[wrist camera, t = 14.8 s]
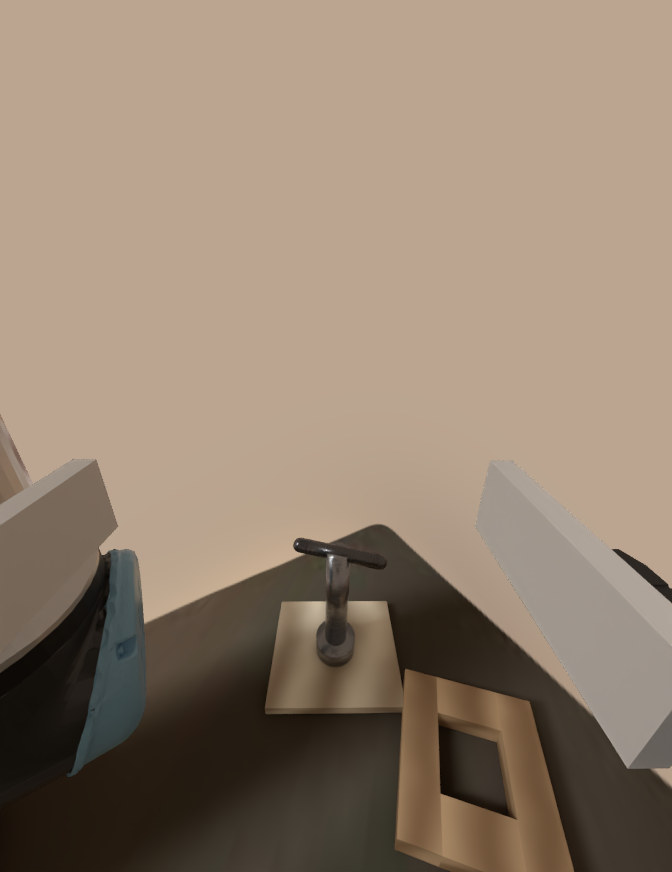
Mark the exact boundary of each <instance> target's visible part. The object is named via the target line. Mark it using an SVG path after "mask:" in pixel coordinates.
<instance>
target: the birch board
mask: <svg viewBox="0 0 672 872" xmlns="http://www.w3.org/2000/svg"><path fill="white" fill-rule="evenodd" d="M325 611H326V602H282V605H281V611H280V617H279V624H278V630H277V636H276V642H275V648H274V654H273V661H272V667H271V673H270V679H269V685H268V691H267V698H266V704H265V714H329V713H402V709H403V688H402V682H401V677H400V671H399V666H398V660H397V655H396V649H395V644H394V638H393V633H392V627H391V622H390V616H389V611H388V606H387V601H348V614H347V622H348V623H349V624H350V625H351V626H352V628H353V630H354V633H355V644H354V653H353V656H352V658H351V660H350V661H349V662H348V663H347V664H345V665H343V666H340V667H331V666H328V665H326V664H324V663H323V662H322V661H321V660H320V658H319V657H318V655H317V651H316V633H317V630H318V628H319V626H320V625H321V623H322V622H324V621H325Z"/></svg>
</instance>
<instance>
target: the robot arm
mask: <svg viewBox="0 0 672 872" xmlns="http://www.w3.org/2000/svg"><path fill="white" fill-rule="evenodd" d="M117 527H118V525H117V522H116V519H115V516H114V513H113V509H112V506H111V503H110V500H109V497H108V494H107V491H106V488H105V485H104V482H103V479H102V476H101V473H100V470H99V467H98V463H97V460H96V459H72V460H71V461H69V462H68V463H66V464H64V465H63V466H61V467H60V468H58V469H57V470H55V471H53V472H52V473H50V474H48V475H47V476H45V477H44V478H42V479H40V480H39V481H37V482H36V483H34V484H33V483H32V481H31V479H30V477H29V474H28V472H27V470H26V468H25V466H24V464H23V462H22V460H21V458H20V455H19V453H18V451H17V449H16V447H15V445H14V443H13V441H12V438H11V436H10V434H9V432H8V430H7V428H6V426H5V424H4V422H3V419H2V417H1V415H0V809H2V808H4V807H6V806H8V805H10V804H12V803H14V802H16V801H17V800H19V799H21V798H23V797H25V796H27V795H29V794H31V793H32V792H34V791H36V790H38V789H40V788H42V787H44V786H46V785H47V784H49V783H51V782H53V781H55V780H57V779H59V778H61V777H62V776H64V775H66V776H67V777H71V776H73V775H75V774H77V773H78V772H79V771H80V770H81V769H82V767H83V766H84V765H85V764H87V763H89V762H90V761H92V760H94V759H95V758H97V757H99V756H100V755H102V754H104V753H105V752H107V751H109V750H111V749H112V748H114V747H116V746H117V745H119V744H121V743H122V742H124V741H125V740H126V739H127V738H128V737H129V736H130V735H131V734H132V733H133V732H134V731H135V729H136V728H137V726H138V725H139V723H140V721H141V719H142V716H143V714H144V709H145V703H146V655H145V633H144V618H143V603H142V591H141V580H140V571H139V564H138V559H137V556H136V554H135V552H134V551H132V550H129V549H124V550H116V549H113V550H111V551H108V553H107V554H105V555H101V552H100V550H99V546H100V545H101V544H102V543H103V542H104V541H105V540H106V539H107V538H108V537H109V536H110V535H111V534H112V532H113V531H114V530H115V529H116V528H117ZM475 527H476V529H477V530H478V532H479V533H480V535H481V537H482V538H483V540H484V541H485V543H486V544H487V546H488V548H489V549H490V551H491V553H492V554H493V555H494V557H495V559H496V560H497V562H498V563H499V565H500V567H501V568H502V570H503V572H504V573H505V575H506V576H507V578H508V580H509V581H510V583H511V584H512V586H513V587H514V589H515V591H516V592H517V594H518V595H519V597H520V598H521V600H522V602H523V603H524V605H525V607H526V608H527V610H528V611H529V613H530V614H531V616H532V618H533V619H534V620H535V622H536V624H537V626H538V627H539V629H540V630H541V632H542V633H543V635H544V637H545V638H546V640H547V641H548V643H549V645H550V646H551V648H552V649H553V651H554V653H555V654H556V656H557V657H558V659H559V661H560V662H561V664H562V665H563V667H564V668H565V670H566V672H567V673H568V675H569V676H570V678H571V679H572V681H573V683H574V684H575V686H576V687H577V689H578V691H579V692H580V694H581V695H582V697H583V699H584V700H585V702H586V703H587V705H588V707H589V708H590V710H591V711H592V713H593V715H594V716H595V718H596V719H597V721H598V722H599V724H600V726H601V727H602V729H603V730H604V732H605V734H606V735H607V737H608V738H609V740H610V742H611V743H612V745H613V746H614V748H615V749H616V751H617V753H618V754H619V756H620V757H621V759H622V761H623V762H624V764H625V765H626V767H627V769H645V768H670V767H671V766H672V589H670V588H669V587H668V584H667V583H666V582H665V581H664V580H662V579H661V578H660V577H659V576H658V575H656V574H655V573H654V572H653V571H652V570H650V569H649V568H648V567H647V566H646V565H644V564H643V563H641V562H639V561H638V560H636V559H634V558H633V557H631V556H629V555H627V554H626V553H624V552H622V551H621V550H619V549H611V548H609V547H608V546H607V545H606V544H605V543H604V542H603V541H602V540H600V539H599V538H598V537H597V536H596V535H595V534H593V532H592V531H590V530H589V529H588V528H587V527H586V526H585V525H584V524H583V523H581V522H580V521H579V520H578V519H577V518H576V517H575V516H574V515H573V514H572V513H570V512H569V511H568V510H567V509H566V508H565V507H564V506H563V505H561V504H560V503H559V502H558V501H557V500H556V499H555V498H554V497H553V496H551V495H550V494H549V493H548V492H547V491H546V490H545V489H543V487H541V486H540V485H539V484H538V483H537V482H536V481H535V480H534V479H532V478H531V477H530V476H529V475H528V474H527V473H526V472H525V471H524V470H522V469H521V468H520V467H519V466H518V465H517V464H516V463H515V462H513V461H490V463H489V467H488V472H487V476H486V481H485V485H484V490H483V493H482V498H481V502H480V506H479V511H478V515H477V520H476V524H475Z"/></svg>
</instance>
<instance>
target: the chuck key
mask: <svg viewBox="0 0 672 872" xmlns="http://www.w3.org/2000/svg"><path fill="white" fill-rule="evenodd" d="M293 547H294V549H295V550H296V551H297V552H300V553H304V554H309V555H313V556H318V557H323V558H326V611H325V621H324V622H322V623H321V625H320V626H319V628H318V630H317V633H316V651H317V655H318V657H319V658H320V660H321V661H322V662H323V663H324V664H326V665H328V666H331V667H340V666H343V665H345V664H347V663H348V662H349V661H350V660H351V658H352V656H353V653H354V644H355V633H354V630H353V628H352V626H351V625H350V624H349V623H348V622H347V614H348V596H349V579H350V564H355V565H359V566H364V567H368V568H373V569H378V570H382V569H384V568H385V567H386V564H387V560H386V558H385V557H384V556H383V555H381V554H377V553H372V552H368V551H363V550H358V549H353V548H350V547H349V546H348V545H347V544H345V543H342V542H335V543H332V544H329V543H324V542H319V541H314V540H310V539H304V538H298V539H296V540H295V542H294V544H293Z"/></svg>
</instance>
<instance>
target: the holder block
mask: <svg viewBox="0 0 672 872" xmlns="http://www.w3.org/2000/svg"><path fill="white" fill-rule="evenodd" d="M438 725H440V726H443V727H446V728H450V729H453V730H457V731H460V732H463V733H467V734H470V735H473V736H477V737H480V738H484V739H487V740H490V741H494V742H497V748H498V754H499V760H500V766H501V772H502V778H503V784H504V790H505V796H506V802H507V808H508V815H509V817H507V816H504V815H501V814H499V813H496V812H493V811H490V810H487V809H484V808H481V807H478V806H475V805H472V804H469V803H466V802H463V801H461V800H458V799H455V798H452V797H449V796H446V795H443V794H440V765H439V736H438ZM395 850H397V851H399V852H402V853H405V854H407V855H410V856H412V857H415V858H417V859H420V860H422V861H425V862H428V863H430V864H433V865H435V866H438V867H440V868H443V869H446V870H448V871H451V872H574V869H573V865H572V862H571V858H570V854H569V850H568V846H567V843H566V839H565V835H564V831H563V827H562V824H561V820H560V816H559V812H558V808H557V805H556V801H555V797H554V793H553V789H552V785H551V782H550V778H549V774H548V770H547V766H546V763H545V759H544V755H543V751H542V747H541V744H540V740H539V736H538V732H537V728H536V725H535V721H534V717H533V713H532V709H531V706H530V702H529V701H525V700H522V699H518V698H514V697H510V696H506V695H503V694H499V693H495V692H491V691H488V690H484V689H480V688H476V687H472V686H469V685H465V684H461V683H457V682H454V681H450V680H446V679H442V678H438V677H435V676H431V675H427V674H423V673H420V672H416V671H412V670H408V669H405V674H404V681H403V709H402V719H401V738H400V757H399V776H398V795H397V814H396V833H395Z"/></svg>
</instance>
